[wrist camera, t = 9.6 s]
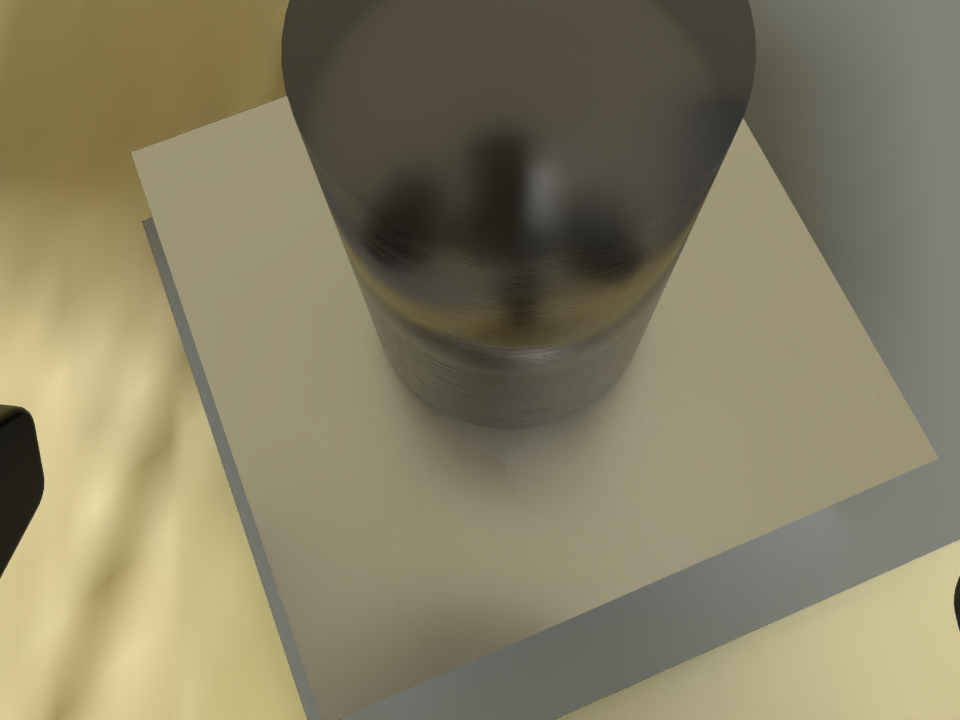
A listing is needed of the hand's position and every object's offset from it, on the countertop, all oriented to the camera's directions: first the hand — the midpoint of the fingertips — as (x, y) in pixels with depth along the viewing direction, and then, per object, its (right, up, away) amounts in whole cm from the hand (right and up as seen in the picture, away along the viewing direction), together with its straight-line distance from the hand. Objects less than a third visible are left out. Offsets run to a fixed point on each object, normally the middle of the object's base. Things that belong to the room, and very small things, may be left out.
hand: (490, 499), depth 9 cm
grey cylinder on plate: (0, +1, +9) cm, 9 cm away
